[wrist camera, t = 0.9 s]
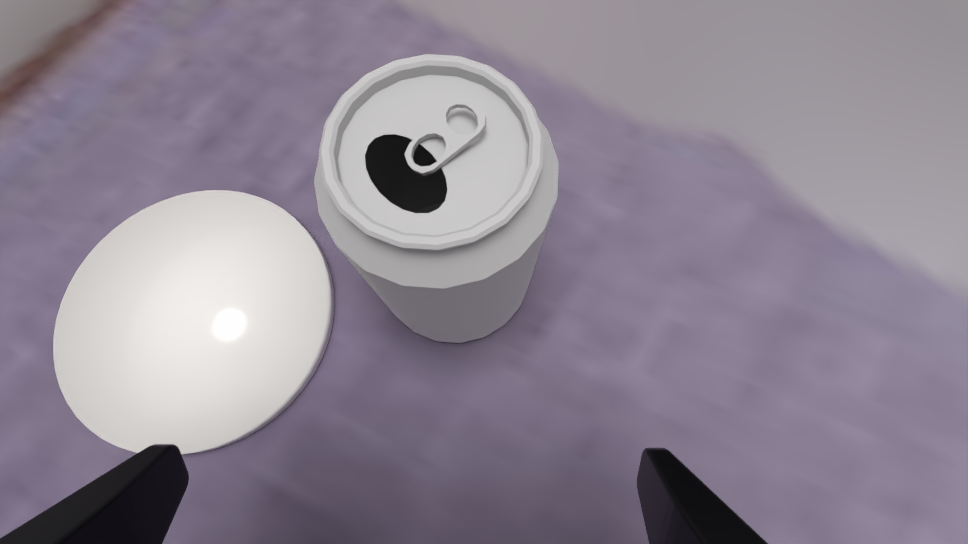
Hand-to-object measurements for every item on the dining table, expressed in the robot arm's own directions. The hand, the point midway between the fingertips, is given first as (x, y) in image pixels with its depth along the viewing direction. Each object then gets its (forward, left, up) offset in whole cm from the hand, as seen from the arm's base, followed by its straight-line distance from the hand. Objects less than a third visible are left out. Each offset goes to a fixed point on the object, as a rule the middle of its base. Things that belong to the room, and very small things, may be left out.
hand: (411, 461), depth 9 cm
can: (+6, +5, -13) cm, 16 cm away
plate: (-4, +13, -13) cm, 19 cm away
